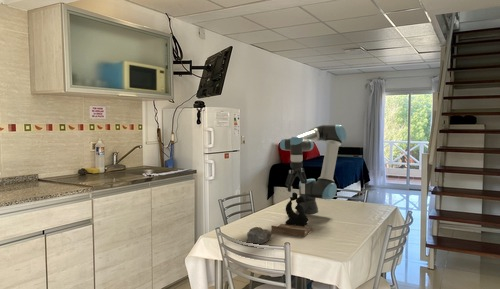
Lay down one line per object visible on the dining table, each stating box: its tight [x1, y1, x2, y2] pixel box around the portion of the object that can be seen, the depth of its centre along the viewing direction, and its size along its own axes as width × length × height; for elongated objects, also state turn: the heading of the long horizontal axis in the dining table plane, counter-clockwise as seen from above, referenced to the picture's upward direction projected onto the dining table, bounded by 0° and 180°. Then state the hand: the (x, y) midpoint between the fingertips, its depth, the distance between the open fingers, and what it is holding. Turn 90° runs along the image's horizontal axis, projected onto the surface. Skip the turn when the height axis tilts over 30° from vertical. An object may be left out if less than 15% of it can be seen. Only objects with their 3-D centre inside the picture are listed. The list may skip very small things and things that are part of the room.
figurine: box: [284, 192, 309, 227], centre depth 232 cm, size 14×9×20 cm, turn 61°
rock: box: [246, 226, 272, 245], centre depth 201 cm, size 13×6×15 cm
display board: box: [270, 223, 313, 238], centre depth 216 cm, size 15×20×4 cm
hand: (296, 195), depth 231 cm, fingers open, 13 cm apart
